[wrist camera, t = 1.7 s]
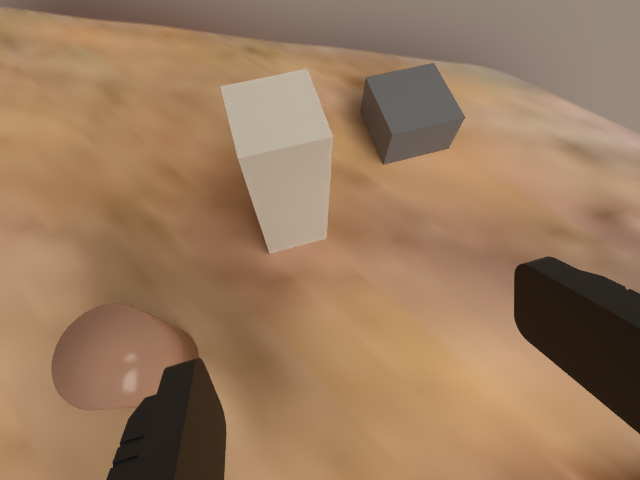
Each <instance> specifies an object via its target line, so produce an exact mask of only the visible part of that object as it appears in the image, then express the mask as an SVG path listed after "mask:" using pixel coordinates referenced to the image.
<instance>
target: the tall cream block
mask: <svg viewBox="0 0 640 480" xmlns="http://www.w3.org/2000/svg"><path fill="white" fill-rule="evenodd" d="M220 87H221V91H222V96H223V100H224V104H225V108H226V112H227V116H228V120H229V124H230V129H231V133H232V137H233V141H234V145H235V149H236V153H237V158H238V161H239V164H240V167H241V170H242V173H243V176H244V179H245V182H246V185H247V188H248V191H249V194H250V197H251V200H252V203H253V206H254V209H255V212H256V215H257V218H258V221H259V224H260V227H261V230H262V233H263V236H264V239H265V242H266V245H267V248H268V251H269V254H271V253H274V252H278V251H282V250H286V249H290V248H293V247H297V246H301V245H305V244H309V243H312V242H316V241H320V240H324V239H326V238H327V223H328V207H329V191H330V176H331V160H332V144H333V135H332V133H331V130H330V127H329V125H328V122H327V120H326V117H325V114H324V112H323V109H322V106H321V104H320V101H319V98H318V96H317V93H316V90H315V88H314V85H313V82H312V80H311V77H310V74H309V72H308V69H303V70H298V71H293V72H289V73H284V74H279V75H274V76H269V77H264V78H259V79H254V80H249V81H245V82H240V83H235V84H230V85H225V86H220Z"/></svg>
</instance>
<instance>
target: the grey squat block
mask: <svg viewBox="0 0 640 480" xmlns="http://www.w3.org/2000/svg"><path fill="white" fill-rule="evenodd" d="M361 114H362V116H363V118H364V121H365V123H366V125H367V128H368V130H369V132H370V135H371V137H372V139H373V141H374V144H375V146H376V148H377V151H378V153H379V155H380V158H381V160H382V162H383V164H388V163H392V162H396V161H400V160H404V159H408V158H412V157H416V156H420V155H424V154H428V153H433V152H437V151H441V150H445V149H448V148H449V147H450V145H451V143H452V141H453V139H454V137H455V135H456V134H457V132H458V130H459V128H460V126H461V124H462V122H463V120H464V119H465V116H464V114H463V113H462V111H461V109H460V108H459V106H458V104H457V102H456V101H455V99H454V97H453V95H452V94H451V92H450V90H449V88H448V87H447V85H446V83H445V81H444V80H443V78H442V76H441V74H440V73H439V71H438V69H437V68H436V66H435V64H434V63H431V64H427V65H422V66H417V67H413V68H408V69H403V70H399V71H394V72H390V73H385V74H380V75H376V76H371V77H366V80H365V86H364V93H363V99H362V105H361Z"/></svg>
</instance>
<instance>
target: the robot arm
mask: <svg viewBox="0 0 640 480" xmlns="http://www.w3.org/2000/svg"><path fill="white" fill-rule="evenodd" d="M514 318H515V322H516V325H517V327H518V329H519V331H520V333H521V334H522V336H523V337H524V338H525V339H526V340H527V341H528V342H530V343H531V344H532V345H533V346H534V347H536V348H537V349H538V350H539V351H540V352H542V353H543V354H544V355H545V356H546V357H548V358H549V359H550V360H551V361H552V362H554V363H555V364H556V365H557V366H558V367H560V368H561V369H562V370H563V371H565V372H566V373H567V374H568V375H569V376H571V377H572V378H573V379H574V380H575V381H577V382H578V383H579V384H580V385H581V386H583V387H584V388H585V389H586V390H587V391H589V392H590V393H591V394H592V395H593V396H595V397H596V398H597V399H598V400H599V401H601V402H602V403H603V404H604V405H605V406H607V407H608V408H609V409H610V410H611V411H613V412H614V413H615V414H616V415H617V416H619V417H620V418H621V419H622V420H624V421H625V422H626V423H627V424H628V425H630V426H631V427H632V428H633V429H634V430H636V431H637V432H638V433H639V434H640V294H639V293H637V292H635V291H633V290H631V289H629V290H627V289H626V288H625V287H624V286H622V285H620V284H618V283H616V282H614V281H612V280H610V279H608V278H606V277H603V276H600V275H597V274H593V273H589V272H585V271H581V270H578V269H576V268H574V267H572V266H570V265H568V264H566V263H564V262H562V261H560V260H558V259H556V258H553V257H544V258H541V259H537V260H534V261H530V262H527V263H524V264H520V265H518V266H517V267H516V269H515V275H514ZM225 449H226V423H225V416H224V412H223V408H222V405H221V403H220V400H219V398H218V396H217V393H216V391H215V388H214V386H213V384H212V381H211V379H210V376H209V374H208V371H207V369H206V367H205V364H204V362H203V361H202V359H200V358H196V359H193V360H189V361H186V362H183V363H179V364H176V365H172V366H169V367H166V368H165V369H164V371H163V374H162V378H161V381H160V384H159V388H158V391H157V394H155V395H152V396H149V397H145V398H144V399H143V401H142V402H141V403H140V405H139V406H138V407H137V409H136V410H135V411H134V413H133V414H132V415H131V417H130V418H129V419H128V422H127V424H126V427H125V430H124V433H123V435H122V438H121V441H120V447H119V448H118V449H117V452H116V455H115V458H114V460H113V468H111V469H110V471H109V474H108V477H107V480H224V469H225Z"/></svg>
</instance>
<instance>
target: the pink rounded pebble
mask: <svg viewBox="0 0 640 480" xmlns="http://www.w3.org/2000/svg"><path fill="white" fill-rule="evenodd" d="M196 358H199V354H198V349H197V346H196V344H195V342H194V341H193V339H192V338H191V337H190V336H189V335H188V334H187V333H186V332H184V331H182V330H180V329H178V328H176V327H174V326H172V325H170V324H168V323H166V322H164V321H162V320H159V319H157V318H155V317H153V316H151V315H149V314H147V313H145V312H143V311H141V310H139V309H137V308H134V307H132V306H129V305H125V304H107V305H102V306H99V307H96V308H94V309H92V310H89V311H88V312H86V313H84V314H83V315H81V316H80V317H79V318H77V319H76V320H75V321H74V322H73V323H72V324H71V325H70V326H69V327H68V328H67V329H66V331H65V332H64V333H63V335H62V336H61V338H60V340H59V342H58V344H57V346H56V348H55V352H54V355H53V360H52V378H53V382H54V385H55V387H56V389H57V391H58V393H59V394H60V396H61V397H62V398H63V399H64V400H65V401H66V402H68V403H69V404H71V405H73V406H75V407H77V408H80V409H85V410H102V409H117V408H131V407H138V406H139V405H140V403H141V402H142V401H143V399H144V398H145V397H149V396H152V395H155V394H157V391H158V388H159V384H160V381H161V378H162V374H163V371H164V369H165V368H166V367H169V366H172V365H176V364H179V363H183V362H186V361H189V360H193V359H196Z"/></svg>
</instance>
